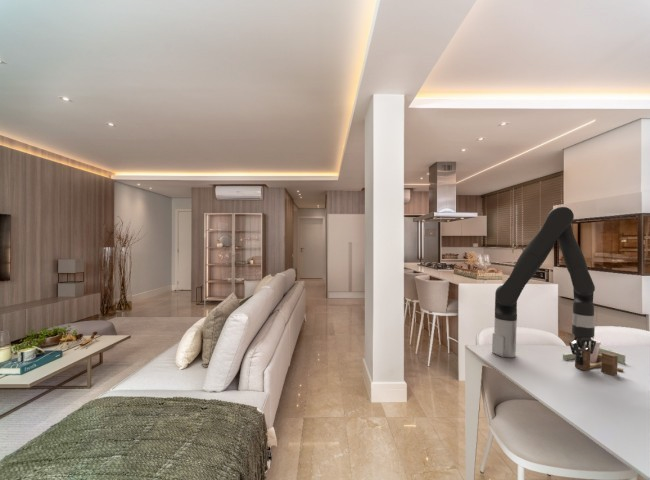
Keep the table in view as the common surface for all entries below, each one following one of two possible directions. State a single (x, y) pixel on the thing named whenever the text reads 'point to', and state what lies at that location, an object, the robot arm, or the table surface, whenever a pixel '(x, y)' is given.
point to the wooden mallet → (588, 361)
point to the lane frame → (620, 356)
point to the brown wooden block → (610, 364)
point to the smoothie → (595, 351)
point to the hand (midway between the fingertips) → (582, 364)
